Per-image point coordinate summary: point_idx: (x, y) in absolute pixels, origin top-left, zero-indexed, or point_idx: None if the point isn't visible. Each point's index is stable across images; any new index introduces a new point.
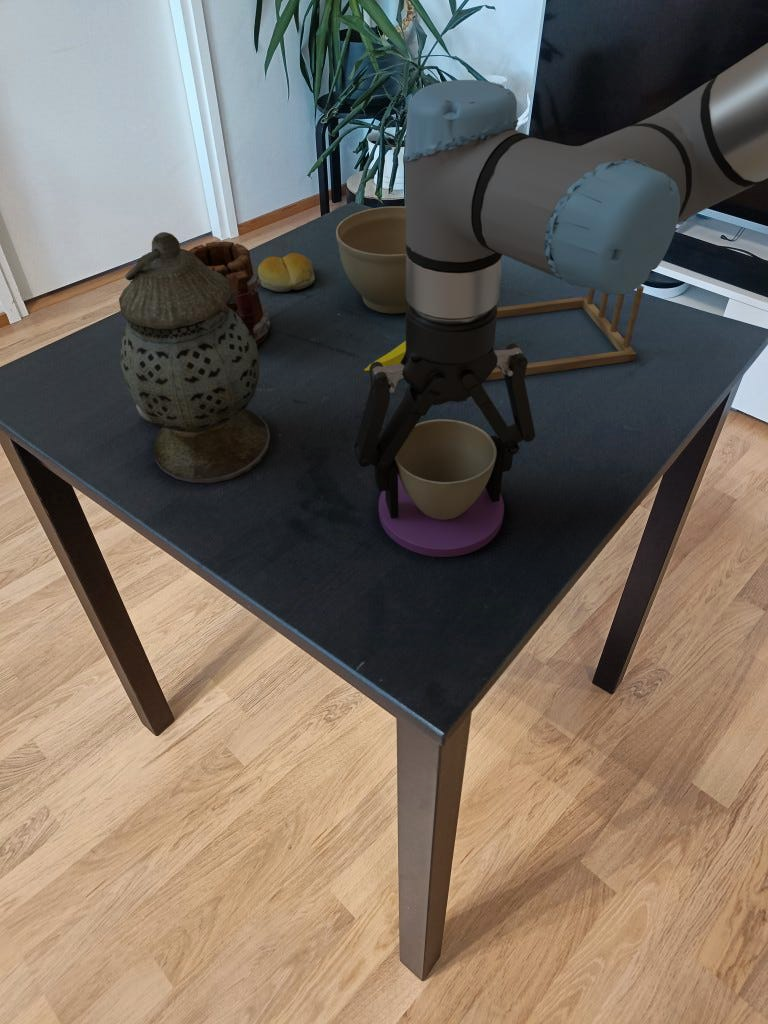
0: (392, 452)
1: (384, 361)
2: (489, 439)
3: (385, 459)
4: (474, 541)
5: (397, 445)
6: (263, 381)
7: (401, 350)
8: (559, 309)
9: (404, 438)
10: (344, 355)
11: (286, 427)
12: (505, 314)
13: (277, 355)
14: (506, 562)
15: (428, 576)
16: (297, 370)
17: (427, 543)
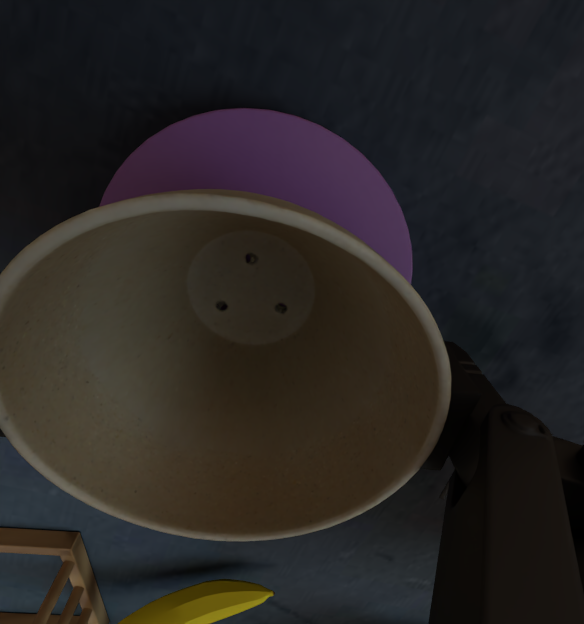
0: (517, 477)
1: (237, 605)
2: (11, 425)
3: (528, 446)
4: (213, 119)
5: (518, 520)
6: (413, 591)
7: (202, 620)
8: None
9: (503, 570)
10: (282, 603)
11: (431, 525)
12: (16, 619)
13: (371, 617)
14: (138, 25)
15: (379, 62)
16: (358, 596)
17: (346, 163)
